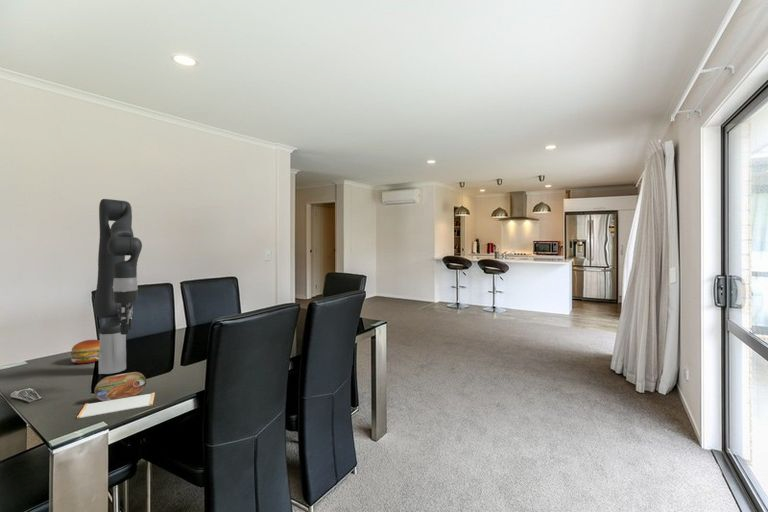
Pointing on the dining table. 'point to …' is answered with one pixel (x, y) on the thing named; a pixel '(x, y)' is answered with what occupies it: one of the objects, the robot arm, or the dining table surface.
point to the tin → (120, 386)
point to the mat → (116, 405)
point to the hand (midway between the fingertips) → (126, 331)
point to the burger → (86, 351)
